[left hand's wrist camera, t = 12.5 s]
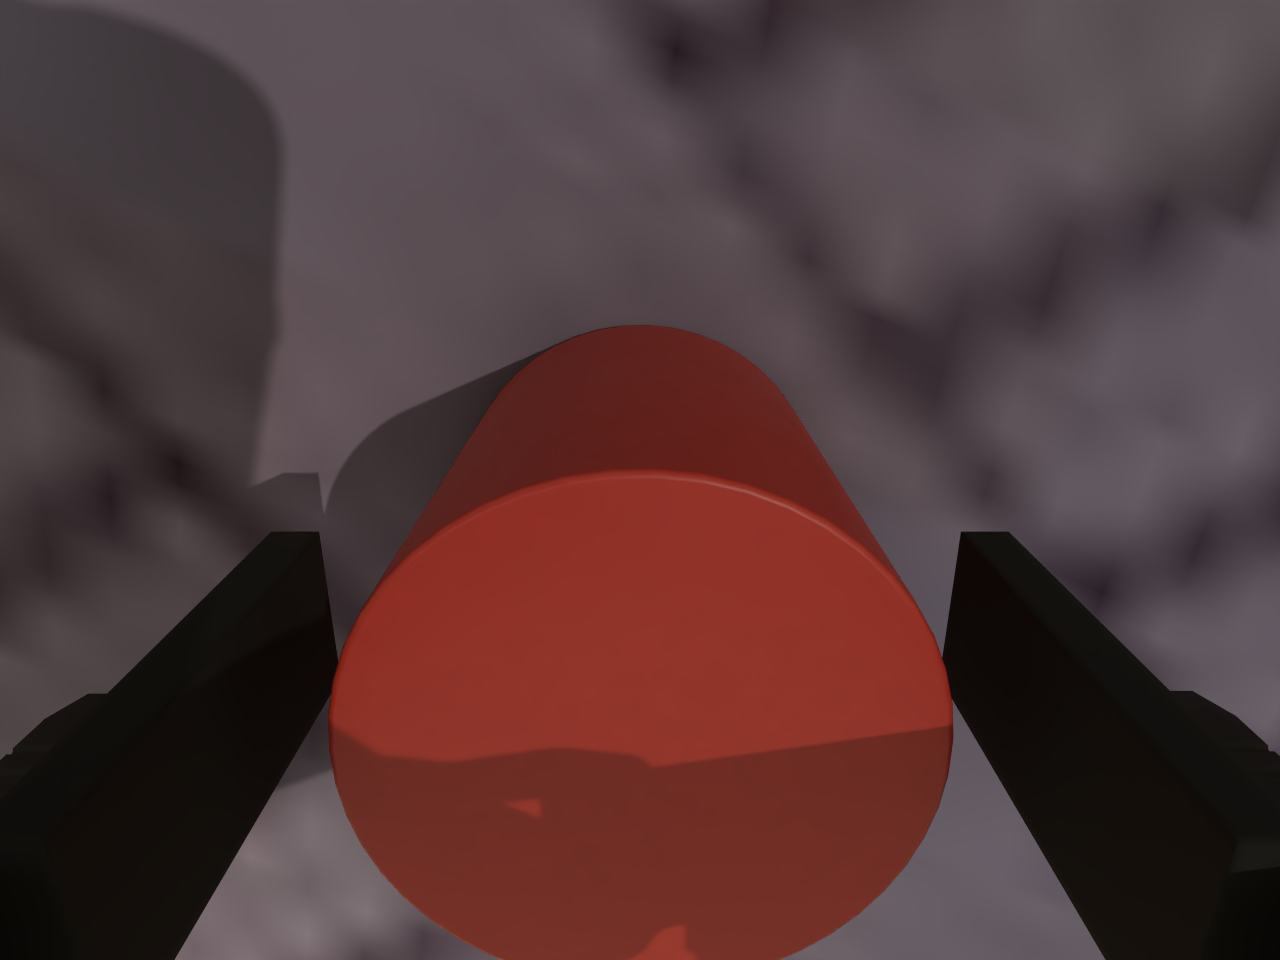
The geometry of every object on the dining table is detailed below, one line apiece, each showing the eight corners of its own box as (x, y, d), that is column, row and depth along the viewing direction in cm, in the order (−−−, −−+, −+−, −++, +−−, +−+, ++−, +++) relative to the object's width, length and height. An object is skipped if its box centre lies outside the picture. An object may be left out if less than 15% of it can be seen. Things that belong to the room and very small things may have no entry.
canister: (407, 544, 19) (224, 838, 11) (582, 250, 16) (525, 333, 8) (687, 698, 20) (720, 1063, 12) (884, 447, 18) (1091, 684, 10)
